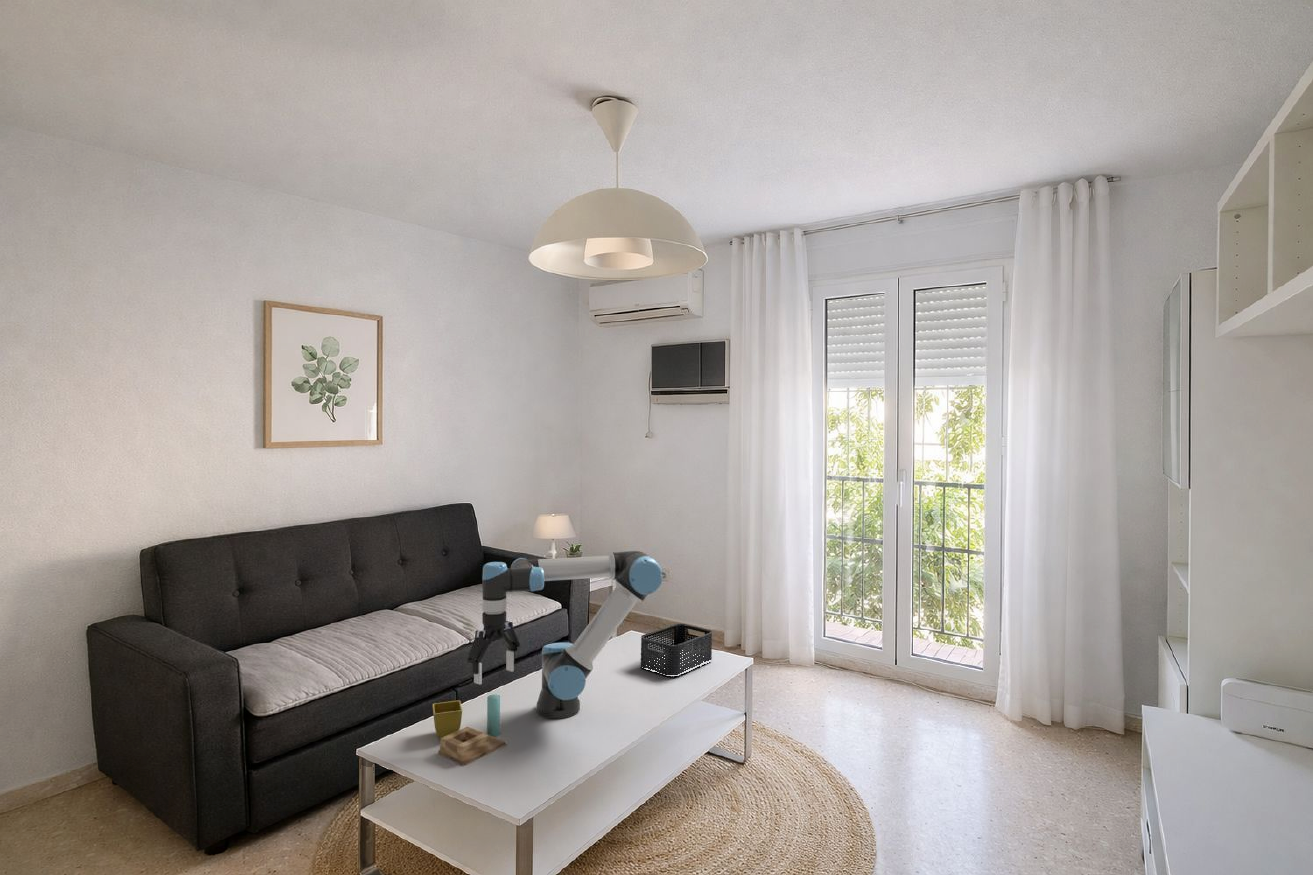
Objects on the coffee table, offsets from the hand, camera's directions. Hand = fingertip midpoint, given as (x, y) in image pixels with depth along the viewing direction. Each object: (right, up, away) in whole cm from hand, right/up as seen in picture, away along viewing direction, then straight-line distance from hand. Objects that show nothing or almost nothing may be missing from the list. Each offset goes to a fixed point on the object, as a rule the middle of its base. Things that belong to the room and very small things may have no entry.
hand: (494, 676), depth 221 cm
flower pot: (-15, -19, 0) cm, 24 cm away
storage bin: (+61, -19, +66) cm, 92 cm away
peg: (0, -19, +1) cm, 19 cm away
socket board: (-4, -19, -10) cm, 22 cm away
